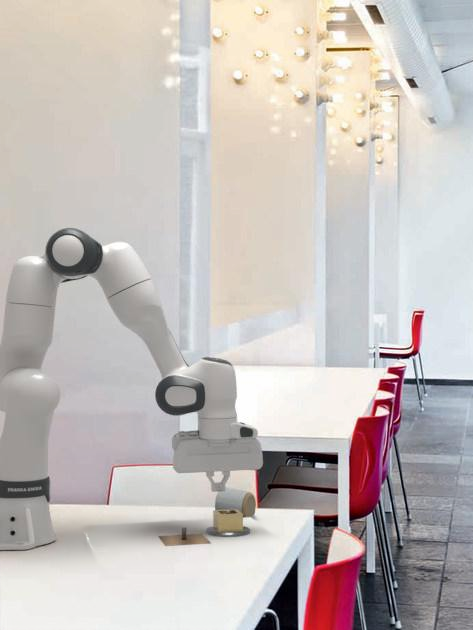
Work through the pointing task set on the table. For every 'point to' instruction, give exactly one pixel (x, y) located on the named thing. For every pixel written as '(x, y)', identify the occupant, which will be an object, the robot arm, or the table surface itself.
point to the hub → (213, 532)
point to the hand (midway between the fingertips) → (218, 491)
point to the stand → (184, 539)
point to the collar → (227, 521)
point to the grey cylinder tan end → (236, 501)
